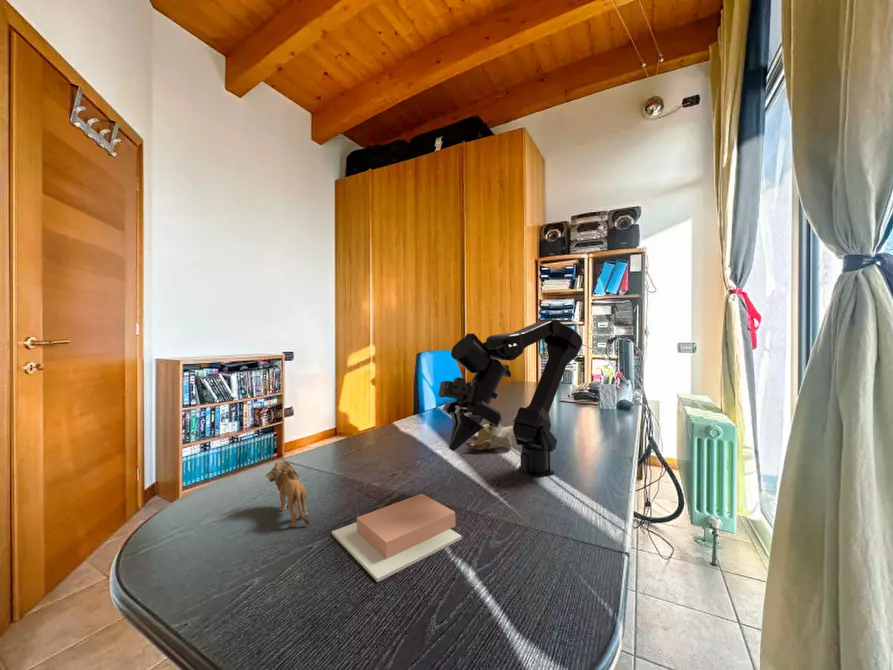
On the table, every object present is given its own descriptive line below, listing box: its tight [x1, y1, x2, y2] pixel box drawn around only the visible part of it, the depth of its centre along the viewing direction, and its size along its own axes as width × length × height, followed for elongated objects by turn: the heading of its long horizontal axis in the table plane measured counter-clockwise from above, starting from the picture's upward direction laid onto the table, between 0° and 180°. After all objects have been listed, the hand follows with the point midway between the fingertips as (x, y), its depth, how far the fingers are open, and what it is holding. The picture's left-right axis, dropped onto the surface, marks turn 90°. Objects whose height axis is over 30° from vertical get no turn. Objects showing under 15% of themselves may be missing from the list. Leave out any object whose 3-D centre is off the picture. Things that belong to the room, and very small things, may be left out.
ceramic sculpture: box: [466, 423, 516, 451], centre depth 108 cm, size 11×9×15 cm
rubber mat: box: [331, 521, 463, 583], centre depth 61 cm, size 16×16×1 cm
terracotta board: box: [356, 493, 456, 559], centre depth 63 cm, size 2×10×14 cm
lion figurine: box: [265, 460, 311, 528], centre depth 70 cm, size 15×5×9 cm, turn 47°
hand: (451, 449), depth 73 cm, fingers closed
